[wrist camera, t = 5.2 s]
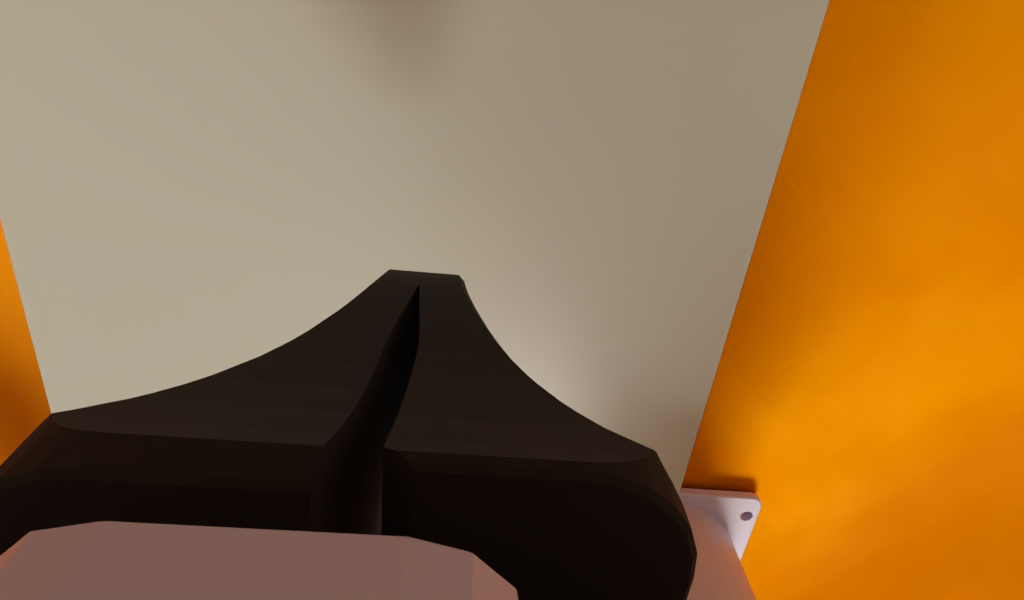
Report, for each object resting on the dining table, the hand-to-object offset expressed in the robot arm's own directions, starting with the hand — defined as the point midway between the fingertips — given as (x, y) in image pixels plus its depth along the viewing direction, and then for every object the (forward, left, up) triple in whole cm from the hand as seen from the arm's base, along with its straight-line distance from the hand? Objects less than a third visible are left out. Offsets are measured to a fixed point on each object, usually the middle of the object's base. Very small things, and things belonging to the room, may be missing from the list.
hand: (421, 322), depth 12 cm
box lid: (0, +1, -5) cm, 5 cm away
